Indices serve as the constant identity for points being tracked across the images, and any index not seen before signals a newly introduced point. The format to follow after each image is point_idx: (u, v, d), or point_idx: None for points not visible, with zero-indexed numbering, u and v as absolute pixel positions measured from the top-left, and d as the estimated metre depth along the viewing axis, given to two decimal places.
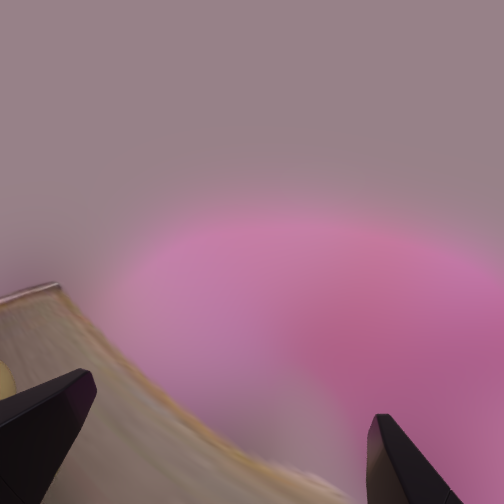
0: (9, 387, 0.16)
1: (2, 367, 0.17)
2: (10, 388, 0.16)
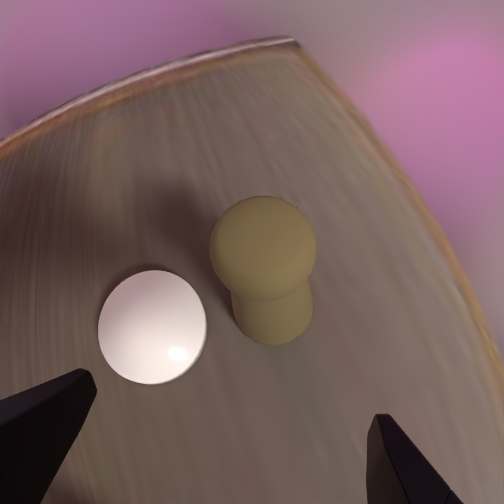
0: (313, 259, 0.15)
1: (308, 228, 0.15)
2: (314, 260, 0.15)
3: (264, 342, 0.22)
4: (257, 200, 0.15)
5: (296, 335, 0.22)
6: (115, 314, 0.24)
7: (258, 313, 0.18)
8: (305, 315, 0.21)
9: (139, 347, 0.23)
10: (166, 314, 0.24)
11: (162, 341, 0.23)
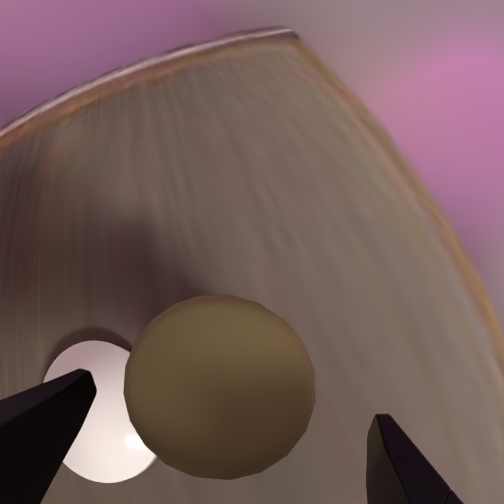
0: None
1: (299, 376, 0.07)
2: None
3: None
4: (202, 311, 0.08)
5: None
6: None
7: None
8: None
9: (84, 438, 0.15)
10: (114, 402, 0.16)
11: (111, 436, 0.15)
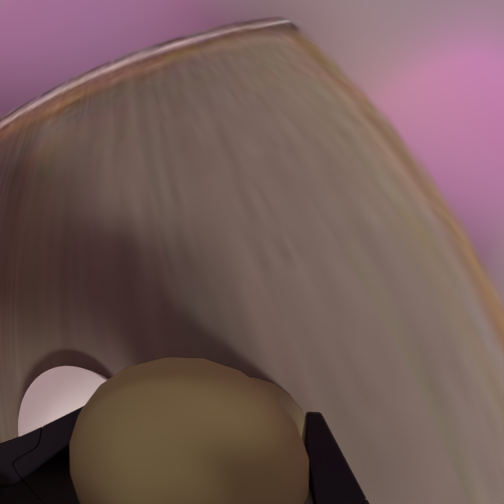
0: None
1: (286, 481, 0.04)
2: None
3: None
4: (155, 390, 0.05)
5: None
6: (34, 418, 0.14)
7: None
8: None
9: None
10: None
11: None
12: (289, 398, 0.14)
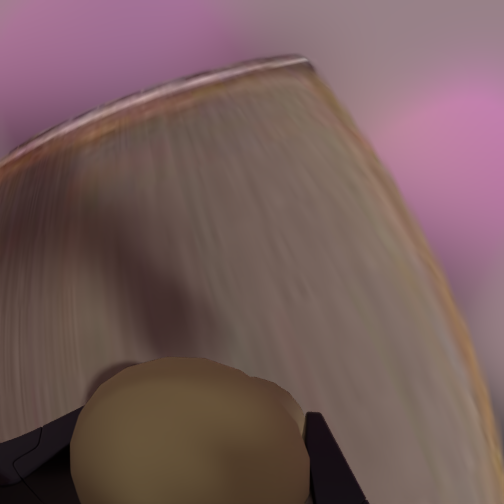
0: None
1: (287, 480, 0.04)
2: None
3: None
4: (155, 390, 0.05)
5: None
6: None
7: None
8: None
9: None
10: None
11: None
12: (289, 397, 0.14)
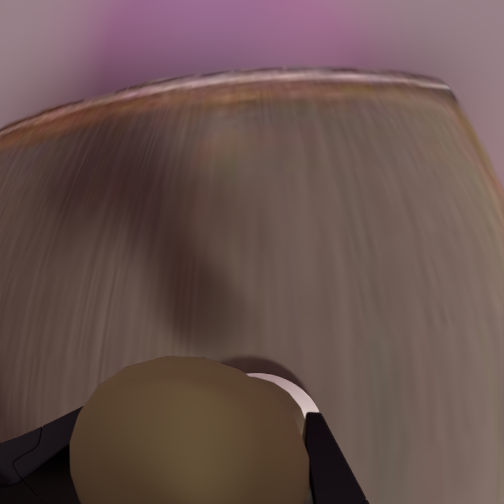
0: None
1: (286, 480, 0.04)
2: None
3: None
4: (155, 390, 0.05)
5: None
6: None
7: None
8: None
9: None
10: None
11: None
12: (289, 397, 0.14)
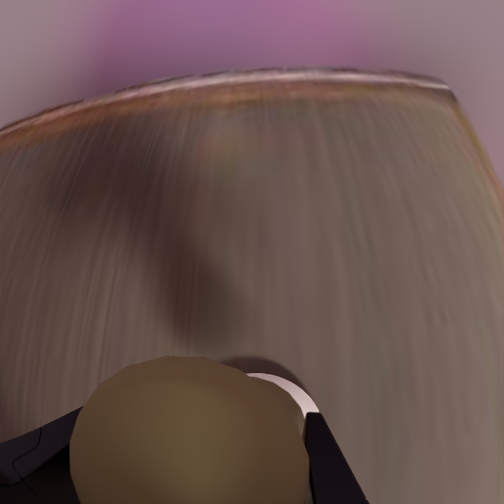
0: None
1: (286, 480, 0.04)
2: None
3: None
4: (155, 390, 0.05)
5: None
6: None
7: None
8: None
9: None
10: None
11: None
12: (289, 397, 0.14)
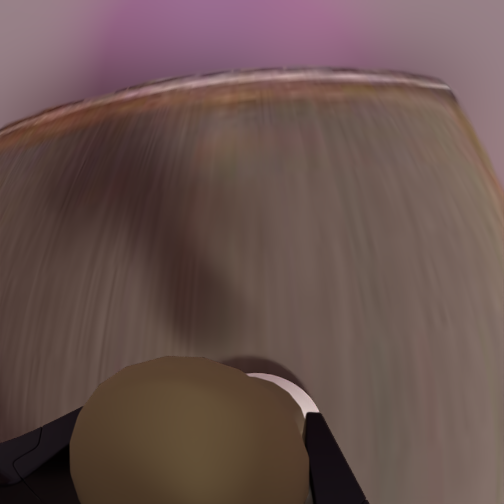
0: None
1: (286, 480, 0.04)
2: None
3: None
4: (155, 390, 0.05)
5: None
6: None
7: None
8: None
9: None
10: None
11: None
12: (289, 397, 0.14)
